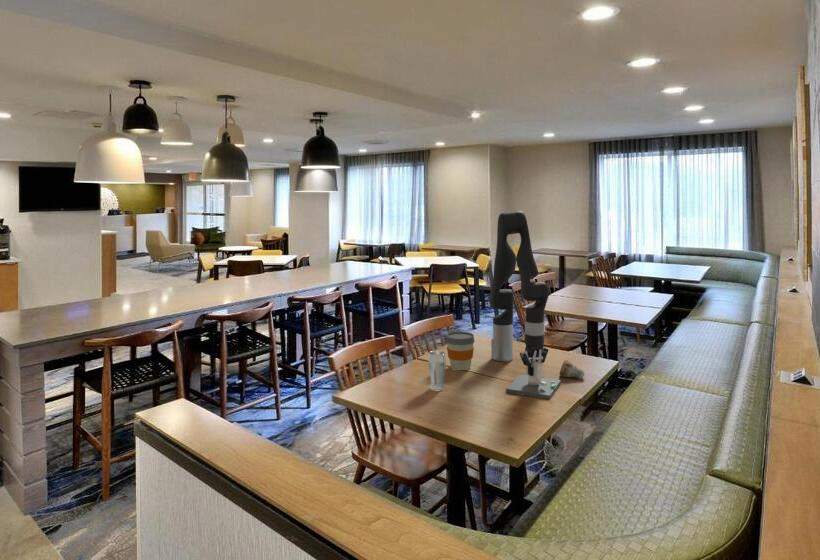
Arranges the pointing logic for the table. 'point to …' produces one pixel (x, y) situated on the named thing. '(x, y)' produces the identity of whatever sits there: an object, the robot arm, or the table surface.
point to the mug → (571, 370)
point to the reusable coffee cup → (460, 349)
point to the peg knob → (536, 375)
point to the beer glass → (437, 369)
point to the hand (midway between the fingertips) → (534, 374)
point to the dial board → (533, 387)
